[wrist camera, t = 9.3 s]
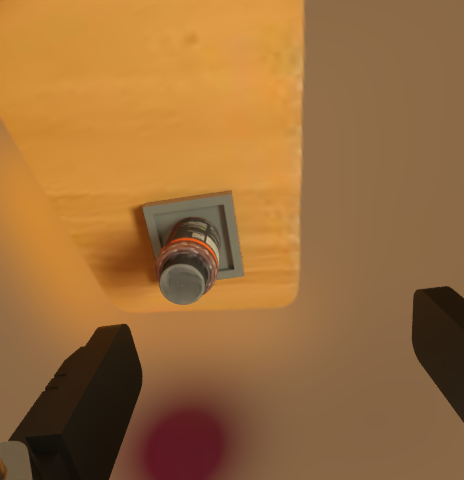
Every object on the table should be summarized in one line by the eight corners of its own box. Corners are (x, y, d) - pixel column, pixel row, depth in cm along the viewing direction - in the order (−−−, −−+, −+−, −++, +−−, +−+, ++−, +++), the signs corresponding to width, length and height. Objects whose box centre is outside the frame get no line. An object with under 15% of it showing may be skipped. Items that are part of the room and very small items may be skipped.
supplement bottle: (176, 266, 41) (155, 319, 30) (165, 219, 39) (137, 259, 28) (225, 259, 40) (221, 310, 30) (216, 211, 38) (208, 248, 28)
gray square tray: (146, 202, 39) (142, 207, 37) (231, 190, 39) (231, 194, 37) (165, 279, 43) (162, 286, 41) (243, 269, 42) (244, 276, 40)
